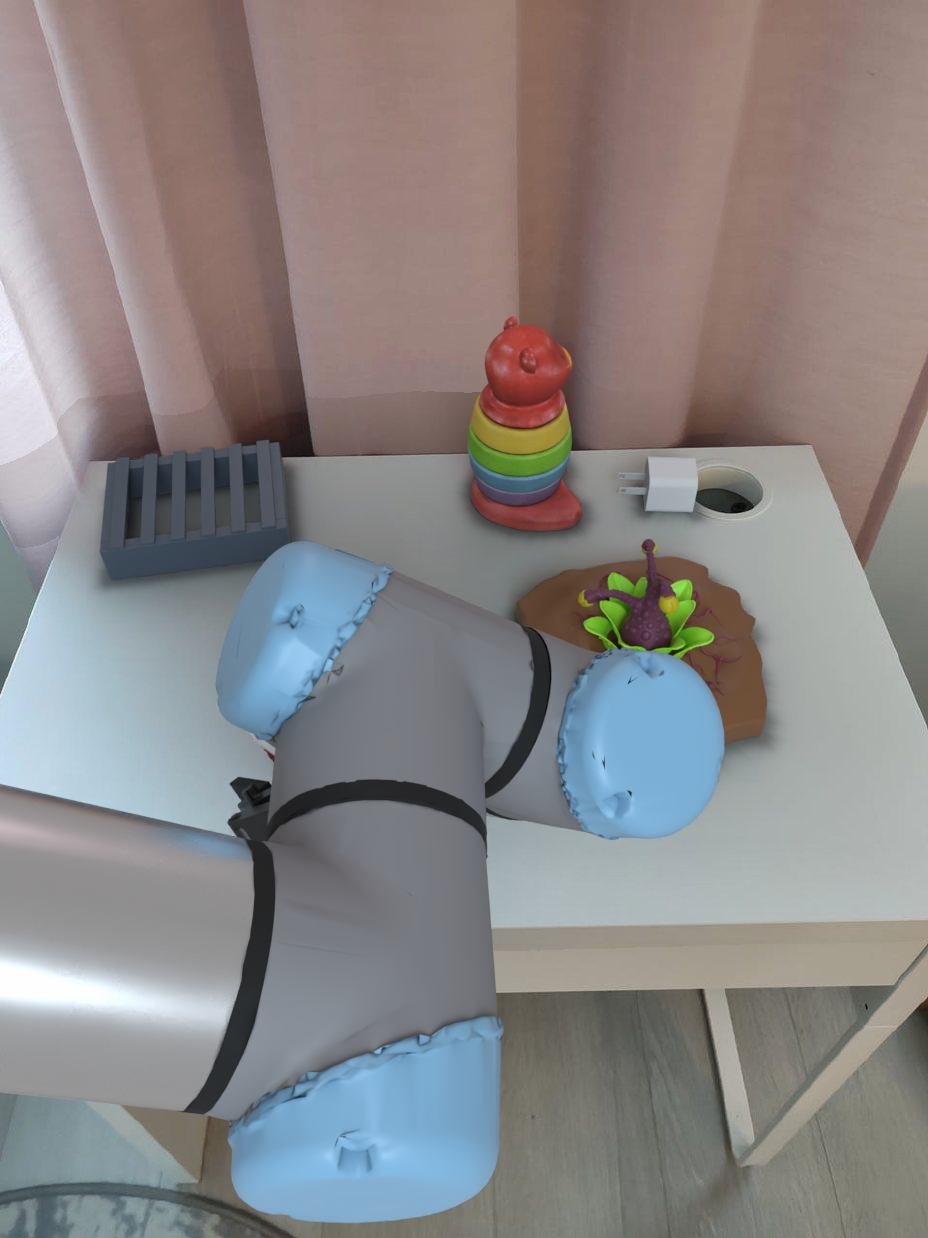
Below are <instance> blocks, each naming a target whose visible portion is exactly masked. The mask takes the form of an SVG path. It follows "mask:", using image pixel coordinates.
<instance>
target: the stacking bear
mask: <svg viewBox="0 0 928 1238" xmlns="http://www.w3.org/2000/svg"><path fill="white" fill-rule="evenodd" d="M572 368H573V360H572V357H571V355H570V353H569V352H568V350H567V349H565V347H563V346H562V345H560V344H559V343H558V342H557V341H556V340H554V339H553V338H552V336H551V334H549V332H547V331H546V330H545V329H544V328H542V327H539V326H537V325H533V324H519V321H518V320H517V317H516V316H510V317H508V318H507V319H506V320H505V321H504V324H503V331H501V332H500V333H498V334H497V335H496V336H495V337H494V338H493V339H492V340H491V342H490V343H489V346H488V348H487V350H486V353H485V356H484V371H485V375H486V381H487V384H486V385H485V386H484V388H482V391H481V392H480V393H479V395H478V396H477V398H476V401H475V403H474V407H473V410H472V414H471V418H470V421H469V426H468V432H467V455H468V459H469V463H470V467H471V469H472V474H473V479H472V481H471V486H470V499H471V502H472V505H473V506H474V508H475V509H476V511H477V512H478V513H479V514H480V515H481V516H483V517H484V518H485V519H487V520H489V521H490V522H493V523H495V524H497V525H500V526H504V527H508V528H512V529H518V530H525V531H532V532H533V531H534V532H549V531H558V530H559V531H561V530H565V529H570V528H573V527H575V526H576V525H577V523H578V522H580V520H581V519H582V518H583V509H582V503H581V500H580V499H579V498H578V497H577V495H576V494H574V493H573V492H572V491H571V490H570V489H569V488H568V486H567V485H566V482H565V481H564V478H565V476H566V474H567V472H568V465H569V461H570V457H571V452H572V445H573V436H572V435H573V434H572V433H573V432H572V426H571V422H570V416H569V409H568V406H567V403H566V398H565V394H564V391H563V390H562V389H561V388H562V387H563V386H564V384H565V383H566V382H567V379H568V377H569V376H570V373H571V371H572Z"/></svg>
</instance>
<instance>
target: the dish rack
mask: <svg viewBox="0 0 928 1238" xmlns="http://www.w3.org/2000/svg"><path fill="white" fill-rule="evenodd" d="M255 443H256V444H251V445H242V443H241V442H238V443H231V444H228V447H227V448H218V449H215V447H214V446H207V447H201V448H200V451H195V452H187V450H186V449H182V450H173V451H172V454H169V455H163V456H159V453H149V454H144V458H139V459H131V458H130V456H124V457H117V458H116V459H115V461H113V462H112V461H111V462H107V467H106V479H105V489H104V499H103V500H104V502H103V513H102V522H101V523H102V524H101V535H100V543H99V554H100V556H101V558H102V559H101V560H102V561H103V563H104V566H105V568H106V571H107V574H108V575H109V578H110V581H117V580H118V581H119V580H124V579H132V578H141V577H149V576H156V575H162V574H168V573H177V572H178V573H179V572H185V571H191V570H192V571H193V570H199V569H200V570H201V569H206V568H207V569H208V568H215V567H222V566H230V565H237V564H245V563H252V562H258V561H266V560H267V558H268V557H270V556H271V555H272V554H273V553H274V552H275V551H277V550H278V549H280V548H281V547H283V546H284V545H287V544H289V543H292V537H291V526H290V514H289V504H288V492H287V483H286V482H287V481H286V471H285V466H284V465H285V464H284V460H283V455H282V449H281V445H280V442H279V441H277V442H276V441H275V442H270V440H269V439H263V440H257V441H256V442H255ZM252 483H253V484H254V483H258V491H259V507H260V521H255V522H248V523H246V502H245V501H246V500H245V485H246V484H252ZM227 486H228V487H229V498H230V499H229V500H230V501H229V502H230V523H231V524H230V525H225V526H218V527H217V523H216V521H217V519H216V516H217V515H216V514H217V513H216V488H219V487H227ZM196 490H200V528H201V529H194V530H187V529H186V527H187V492H189V491H196ZM165 494H171V505H170V507H171V509H170V510H171V511H170V512H171V514H170V533H163V534H156V529H157V505H158V503H157V502H158V499H157V498H158V496H159V495H165ZM133 498H141V513H140V514H141V516H140V534H139V535H140V537H132V538H128V537H129V520H130V519H129V518H130V517H129V516H130V504H131V499H133Z"/></svg>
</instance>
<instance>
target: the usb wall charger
mask: <svg viewBox="0 0 928 1238" xmlns="http://www.w3.org/2000/svg"><path fill="white" fill-rule="evenodd" d="M622 475H623V476H622ZM616 477H617V479H618V480H626V481H627V480H628V481H630V480H631V481H642V487H638V486H621V487H618V491H617V494H619V495H620V494H621V495H638V496H639V495H640V496H641V495H642V499H643V509H644V512H658V513H659V512H660V513H661V512H662V513H663V512H664V513H665V512H666V513H693V512H694V507H695V502H696V499H697V498H696V497H697V494H698V490H699V489H698V488H699V476H698V468H697V460H696V457H682V456H681V457H680V456H646V460H645V466H644V472H617V476H616ZM622 490H624V491H622Z"/></svg>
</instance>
